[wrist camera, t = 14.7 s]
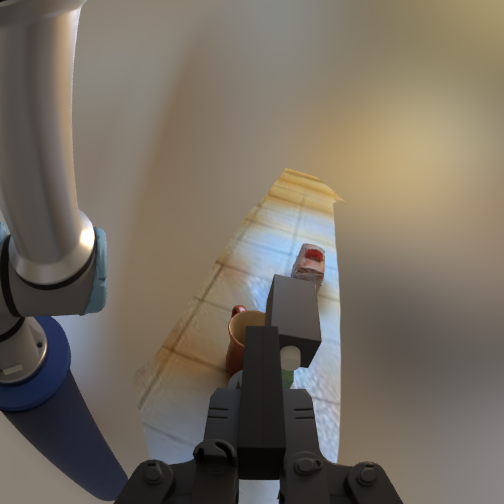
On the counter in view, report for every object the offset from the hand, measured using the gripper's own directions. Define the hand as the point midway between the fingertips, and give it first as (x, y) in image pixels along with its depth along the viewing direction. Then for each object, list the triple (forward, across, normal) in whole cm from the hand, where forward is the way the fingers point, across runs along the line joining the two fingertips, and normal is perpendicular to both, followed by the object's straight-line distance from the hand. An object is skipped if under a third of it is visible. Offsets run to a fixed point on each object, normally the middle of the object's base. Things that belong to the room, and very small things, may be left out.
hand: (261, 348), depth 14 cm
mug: (+28, -3, -28) cm, 40 cm away
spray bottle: (+12, -3, -30) cm, 32 cm away
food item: (+57, +12, -27) cm, 64 cm away
